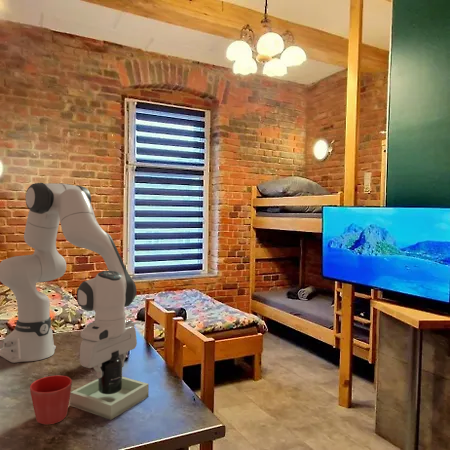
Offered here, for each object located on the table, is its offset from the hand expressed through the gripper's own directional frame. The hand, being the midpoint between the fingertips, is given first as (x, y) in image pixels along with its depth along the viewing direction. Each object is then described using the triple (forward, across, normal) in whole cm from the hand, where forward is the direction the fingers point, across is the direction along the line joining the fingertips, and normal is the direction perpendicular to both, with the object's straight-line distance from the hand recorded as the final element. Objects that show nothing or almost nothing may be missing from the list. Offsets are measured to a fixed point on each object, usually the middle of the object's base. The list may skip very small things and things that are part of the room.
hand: (110, 372), depth 124 cm
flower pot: (+9, +15, -7) cm, 19 cm away
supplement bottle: (+6, 0, 0) cm, 6 cm away
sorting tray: (+9, 0, 0) cm, 9 cm away
